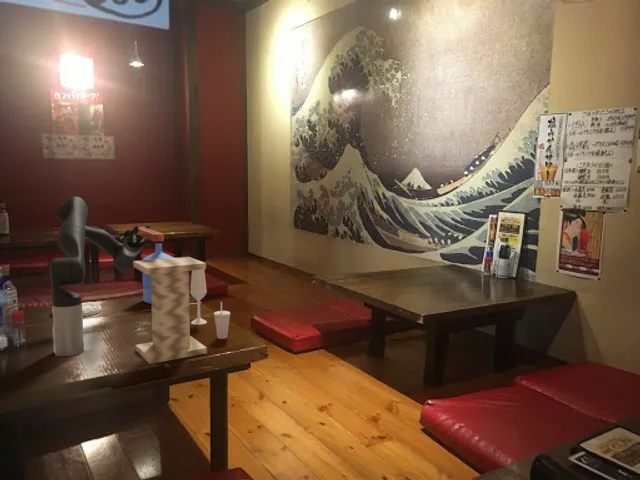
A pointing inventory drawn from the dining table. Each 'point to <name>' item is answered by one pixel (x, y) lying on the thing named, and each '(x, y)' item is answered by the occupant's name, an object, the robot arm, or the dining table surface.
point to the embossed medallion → (90, 308)
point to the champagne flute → (198, 292)
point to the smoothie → (222, 323)
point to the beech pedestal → (170, 309)
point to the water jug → (147, 277)
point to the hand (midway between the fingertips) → (142, 227)
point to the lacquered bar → (150, 234)
